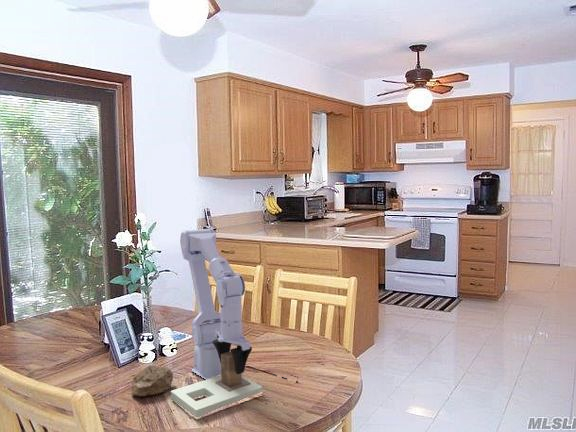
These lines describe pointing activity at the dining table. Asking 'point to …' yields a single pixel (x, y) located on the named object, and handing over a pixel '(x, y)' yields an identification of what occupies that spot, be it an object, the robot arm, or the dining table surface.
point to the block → (229, 370)
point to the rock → (152, 381)
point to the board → (213, 394)
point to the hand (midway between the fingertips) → (232, 368)
